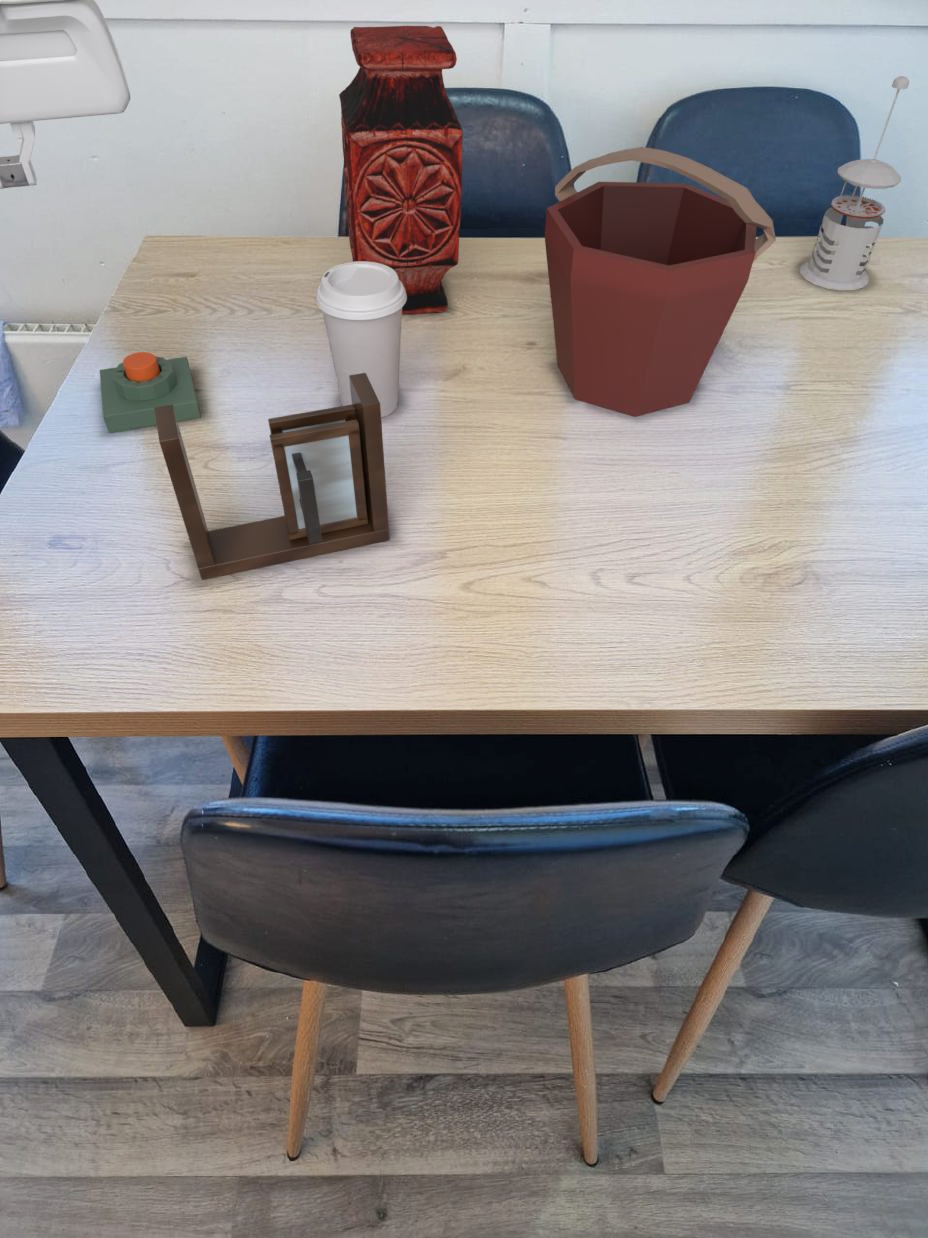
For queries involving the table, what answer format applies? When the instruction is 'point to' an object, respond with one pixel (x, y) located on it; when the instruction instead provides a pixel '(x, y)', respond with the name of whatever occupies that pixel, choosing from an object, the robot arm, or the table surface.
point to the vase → (403, 159)
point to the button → (141, 366)
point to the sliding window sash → (320, 479)
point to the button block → (147, 395)
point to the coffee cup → (364, 326)
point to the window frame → (270, 536)
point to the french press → (852, 223)
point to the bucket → (647, 279)
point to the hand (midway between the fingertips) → (17, 184)
